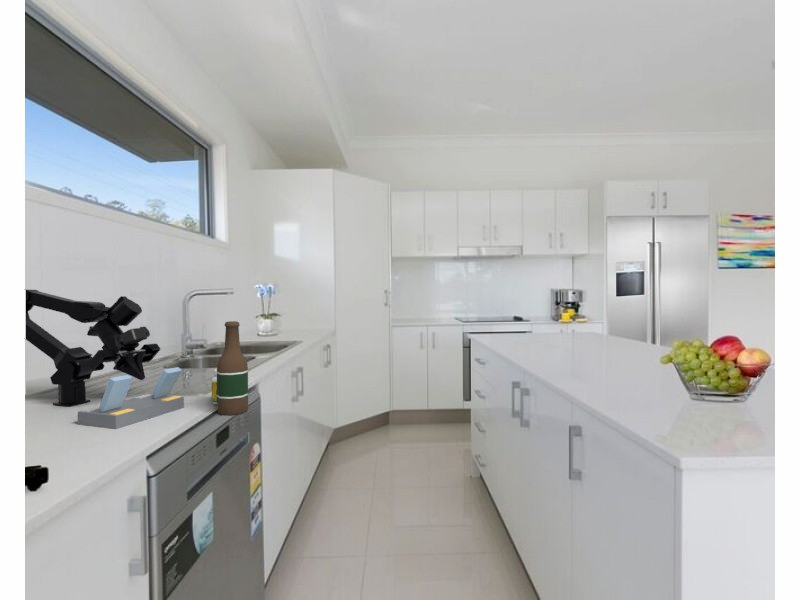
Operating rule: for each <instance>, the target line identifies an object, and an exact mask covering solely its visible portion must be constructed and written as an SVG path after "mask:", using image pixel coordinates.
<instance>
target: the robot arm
mask: <svg viewBox="0 0 800 600" xmlns="http://www.w3.org/2000/svg"><path fill="white" fill-rule="evenodd" d="M25 290H26V339H25V340H26V341H27V342H28V343H30V344H31V345H33V346H34V347H36V348H37V349H38V350H39V351H41V352H42V353H43V354H45V355H46V356H47V357H49V358H50V359H51V360H52V361H53V364H54V367H55V369H56V371H55V372H54V373H53V374H52V375H51V376H50V381H51V384H52V385H57V387H58V388H57V389H58V390H57V391H58V394H57V397H58V398H57V399H58V400H57V401H56V402H52V405H54V406H63V407H72V406H75V405H79V404H80V405H81V404H85V403H89V402H91V399H88V398H87V396H86V395H87V394H86V393H87V392H86V388H87V387H86V380H90V379H91V376H92V373H93V372H96V371H102V370H104V368H105V364H104V363H107V364H108V363H114V365H113V368H112V369H113V370H114V371H115V370H116V371H118V372H122V373H124V374H126V375H130V376H131V377H133V378H135V379H137V380H139V381H144V380H145V379H146V376H145V369H144V366H143V364H145V363H151V361H152V360H153V359H154V358H155V357H156V356H157V355H158V353H159V352H160V351H161V347H160V345H158V343H154V342H153V343H147V344H143V345H142V347H141V348H140V349H136V348H138V347H139V346H140V344H139V343H141V342H142V341H144V340H147V339H148V338H149V337H150V336H151V333H150V331H149V329H148V328H147V326H140V327H138V328H130V329H127V330H126V331H123V330H122V328H121V327H122V326H123V327H128V326H129V325H130V324H131V323H132V322H133V321H135V319H136V318H137V317H138V316H140V314H141V313H142V312H143V309H142V307H141V305H139V304H138V303H137V302H135V301H134V300H132V299H129V298H128V297H127V296H125V295H123V296H120V297H119V298H117V300H116V302H114V303H113V304H112V305H111V306H110V307H109V306H106V304H104V303H103V302H99V301H86V300H74V299H70V298H65V297H61V296H59V295H55V294H52V293H51V294H50V293H47V292H43V291H39V290H37V289H25ZM34 307H39V308H42V309H47V310H51V311H54V312H58V313H62V314H65V315H67V316H69V318H71V319H72V320H75V321H76V322H78V323H81V324H87V323H95V324H94V325H91V326H89V327H88V330H87V333H86V335H87V336H89V337H90V336H91V337H98V338H99V340H100V341H101V343H102V344H103V345H102V347H101V349H98V350H97V351H96V352H95V354H94V355H93V353H89V352H87V351H86V350H85V349H84V348H83V347H82V346H78V347H72V348H70V347H68V346H67V345H66V344H65V343H63V342H61V340H59V339H58V338H56V337H55V336H54V335H52V334H51V333H49V332H48V331H46V330H45V329H44V328H43V327H41V326H40V325H38V324H37V323H36V322H35V321H33V320H32V319H31V318H30V315H29V311H31V310H32V309H33V308H34Z"/></svg>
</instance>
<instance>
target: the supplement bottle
mask: <svg viewBox="0 0 800 600" xmlns="http://www.w3.org/2000/svg"><path fill="white" fill-rule="evenodd" d="M213 375H214V376H213V377H212V378H211V403H212V404H213V405H216V406H217V368H215V369H213Z"/></svg>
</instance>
